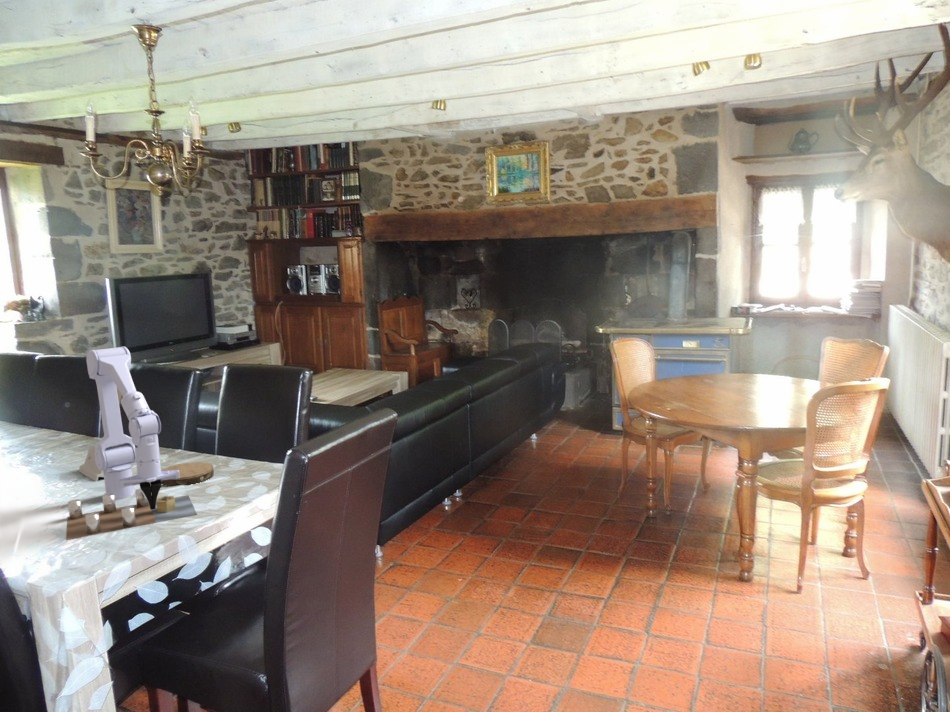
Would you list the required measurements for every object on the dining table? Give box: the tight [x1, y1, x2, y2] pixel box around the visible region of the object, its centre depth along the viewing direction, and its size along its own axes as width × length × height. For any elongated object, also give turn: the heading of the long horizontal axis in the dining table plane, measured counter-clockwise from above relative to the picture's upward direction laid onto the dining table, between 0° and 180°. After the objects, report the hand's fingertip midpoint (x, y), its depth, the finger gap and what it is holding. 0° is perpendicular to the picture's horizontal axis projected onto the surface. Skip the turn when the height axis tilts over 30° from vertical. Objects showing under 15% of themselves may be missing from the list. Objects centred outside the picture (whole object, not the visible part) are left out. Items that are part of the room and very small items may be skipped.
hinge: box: [78, 445, 108, 482], centre depth 221 cm, size 17×5×10 cm, turn 47°
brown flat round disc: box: [161, 461, 215, 487], centre depth 214 cm, size 16×16×3 cm
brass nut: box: [156, 495, 175, 513], centre depth 185 cm, size 5×4×3 cm
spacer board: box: [65, 494, 198, 541], centre depth 181 cm, size 18×30×1 cm, turn 120°
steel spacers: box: [67, 488, 149, 535], centre depth 178 cm, size 17×19×4 cm
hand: (152, 508), depth 183 cm, fingers closed
